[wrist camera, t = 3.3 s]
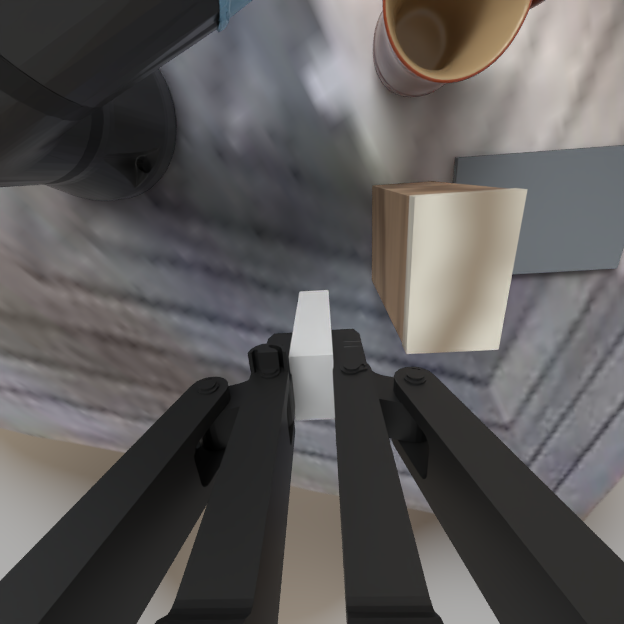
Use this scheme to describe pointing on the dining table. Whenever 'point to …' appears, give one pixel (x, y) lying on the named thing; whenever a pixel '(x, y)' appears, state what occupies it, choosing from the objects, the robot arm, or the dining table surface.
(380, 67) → the mug
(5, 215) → the dining table surface
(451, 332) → the brown and cream block
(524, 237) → the mat
